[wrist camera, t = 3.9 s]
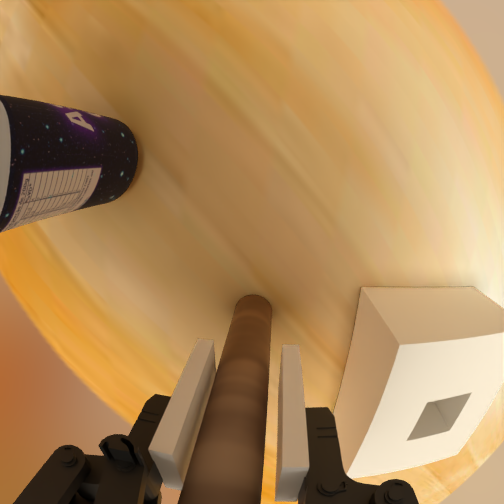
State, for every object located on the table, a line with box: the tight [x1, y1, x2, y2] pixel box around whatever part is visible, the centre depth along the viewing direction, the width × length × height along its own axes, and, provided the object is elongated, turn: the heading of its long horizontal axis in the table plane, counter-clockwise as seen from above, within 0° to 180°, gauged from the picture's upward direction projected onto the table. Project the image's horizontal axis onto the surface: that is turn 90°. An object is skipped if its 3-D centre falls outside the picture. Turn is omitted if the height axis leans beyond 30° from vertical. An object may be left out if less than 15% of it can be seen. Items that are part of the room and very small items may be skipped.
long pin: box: [178, 295, 272, 504], centre depth 12 cm, size 2×2×14 cm
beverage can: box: [0, 95, 138, 232], centre depth 11 cm, size 6×6×12 cm
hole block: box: [333, 287, 504, 478], centre depth 16 cm, size 12×10×7 cm
